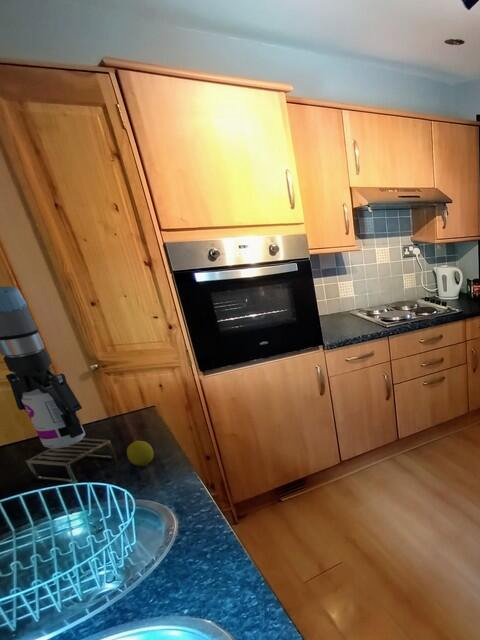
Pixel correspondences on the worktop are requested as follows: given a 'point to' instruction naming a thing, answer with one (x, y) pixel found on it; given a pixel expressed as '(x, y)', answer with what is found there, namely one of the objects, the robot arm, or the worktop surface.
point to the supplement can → (48, 420)
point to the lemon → (140, 453)
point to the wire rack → (78, 455)
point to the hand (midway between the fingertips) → (62, 434)
